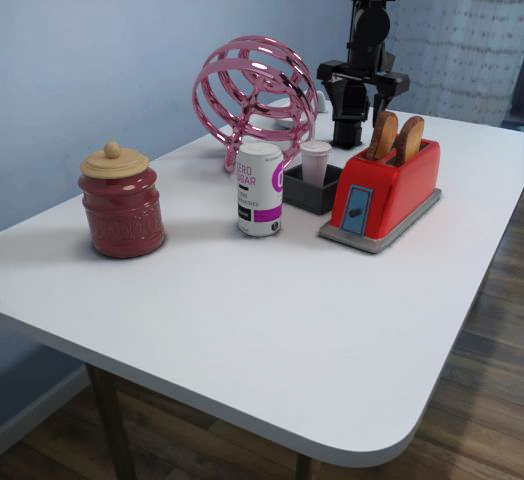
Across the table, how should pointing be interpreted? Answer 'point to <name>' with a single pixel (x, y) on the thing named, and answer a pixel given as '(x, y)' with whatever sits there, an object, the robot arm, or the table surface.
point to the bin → (310, 189)
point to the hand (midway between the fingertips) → (356, 122)
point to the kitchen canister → (121, 202)
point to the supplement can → (259, 187)
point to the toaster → (385, 185)
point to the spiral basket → (250, 103)
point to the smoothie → (314, 160)
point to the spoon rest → (289, 122)
